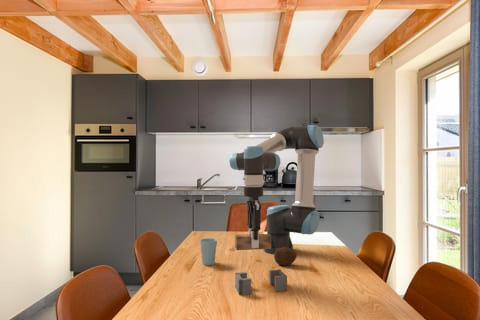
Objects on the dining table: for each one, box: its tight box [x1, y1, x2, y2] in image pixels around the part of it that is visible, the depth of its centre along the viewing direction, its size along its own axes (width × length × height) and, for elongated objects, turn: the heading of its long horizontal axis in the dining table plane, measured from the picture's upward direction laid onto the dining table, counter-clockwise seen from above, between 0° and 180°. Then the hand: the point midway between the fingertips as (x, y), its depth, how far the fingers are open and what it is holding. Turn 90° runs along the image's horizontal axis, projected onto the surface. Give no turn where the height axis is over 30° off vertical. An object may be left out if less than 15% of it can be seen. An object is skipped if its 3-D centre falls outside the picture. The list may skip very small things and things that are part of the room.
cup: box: [199, 237, 218, 266], centre depth 141 cm, size 8×8×10 cm
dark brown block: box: [234, 233, 271, 251], centre depth 121 cm, size 14×4×5 cm, turn 101°
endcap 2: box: [268, 269, 288, 292], centre depth 113 cm, size 4×7×5 cm, turn 12°
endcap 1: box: [234, 271, 252, 296], centre depth 110 cm, size 4×7×5 cm, turn 12°
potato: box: [273, 247, 298, 266], centre depth 138 cm, size 7×10×8 cm
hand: (253, 246), depth 121 cm, fingers closed on dark brown block, 3 cm apart
